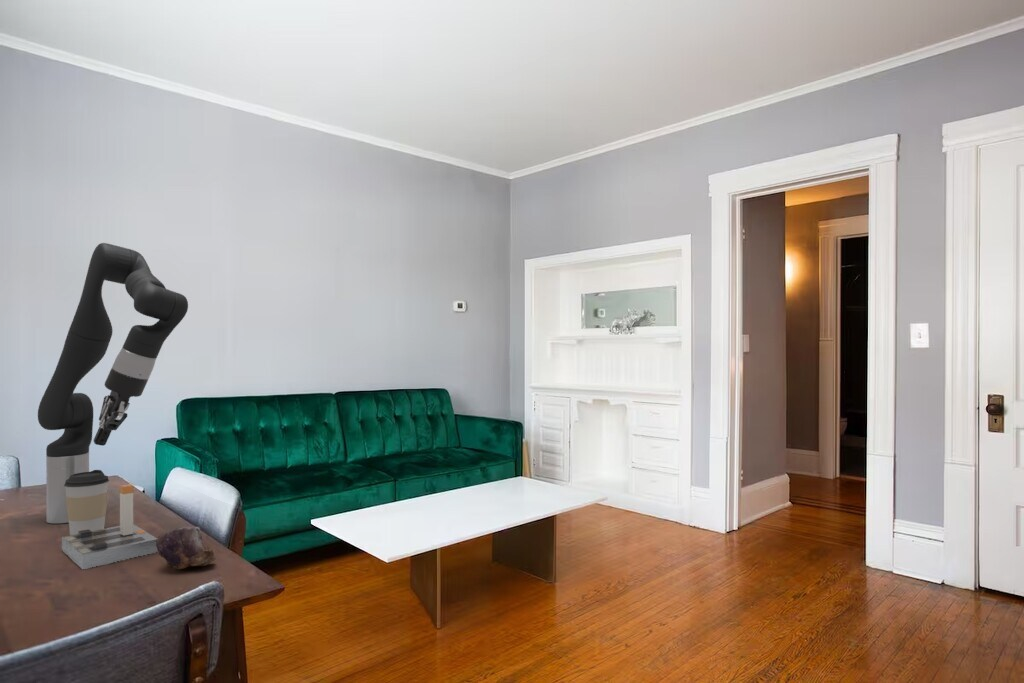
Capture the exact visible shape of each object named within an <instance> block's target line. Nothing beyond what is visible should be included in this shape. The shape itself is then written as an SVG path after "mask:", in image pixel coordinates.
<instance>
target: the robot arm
mask: <svg viewBox="0 0 1024 683" xmlns="http://www.w3.org/2000/svg"><path fill="white" fill-rule="evenodd" d="M105 281H107V282H112V283H116V284H121V285H124V287H125V290H126V292H127V295H129V296H130V298H132V300H133V308H134V310H135V311H136V312H138V313H139V314H141V315H143V316H146V317H149V318H152V319H155V320H158V321H157V322H155V323H154V324H152V325H147V324H146V325H145V324H144V325H143V324H135V325H132V327H130V330H129V332H128V334H127V336H126V339H125V340H124V343H123V345H122V347H121V350H120V351H119V353H118V354H117V355H116V356H115V357H116V358H115V360H114V362H113V364H112V367H111V368H110V371H109V373H108V375H107V377H106V380H105V381H104V387H105V388H106V389H107V390H108V391H111V392H110V393H109V394H108V395H105V396H103V397H104V398H103V401H102V405H101V409H100V414H99V417H98V421H99V422H98V426H99V427H98V429H97V431H96V432H95V433H96V434H95V436H94V438H93V429H94V428H93V426H94V406H93V402H92V399H91V398H90V397H89V396H88V394H86V393H83V392H75V389H77V386H78V384H79V383H80V382H81V380H82V379H83V378H84V377H85V376H86V375H87V374H88V373H89V372H90V371H91V370H93V369H94V367H96V366H97V365H98V364H99V363H100V361H101V360H102V359H103V358H104V357H105V355H106V353H107V352H108V351H107V350H108V348H109V345H110V342H111V339H112V336H113V332H114V331H113V325H112V322H111V319H110V317H109V314H108V312H107V309H106V307H105V304H104V299H103V296H102V294H103V291H102V290H103V285H104V282H105ZM188 301H189V300H188V299H187V297H186V296H185V295H184V294H182V293H179V292H176V291H173V290H170V289H167V288H166V286H165V284H164V283H163V282H162V281H161V280H160V279H159V278H157V277H156V276H155V275H153V273H152V271H151V269H150V266H149V265H148V263H147V261H146V259H145V257H144V256H143V255H142V254H141V253H140V252H139V251H136V250H134V249H131V248H127V247H124V246H118V245H114V244H110V243H108V242H101V243H98V244H97V246H95V249H93V252H92V255H91V258H90V261H89V265H88V269H87V273H86V277H85V280H84V285H83V288H82V293H81V295H80V299H79V302H78V304H77V306H76V311H75V314H74V315H73V318H72V321H71V324H70V326H69V329H68V331H67V335H66V338H65V341H64V345H63V348H62V351H61V354H60V357H59V359H58V362H57V365H56V367H55V370H54V372H53V374H52V376H51V377H50V381H49V383H48V385H47V387H46V389H45V391H44V394H43V395H42V398H41V400H40V401H39V405H38V409H37V421H38V423H39V424H38V425H40V426H41V427H42V428H43V429H44V430H47V431H59V430H63V433H62V434H61V436H60V437H59V438H57V439H56V440H54V441H52V442H51V443H49V444H48V445H46V449H45V450H46V461H45V463H46V465H45V466H46V472H45V473H46V476H45V477H46V478H45V480H46V482H45V483H46V523H47V524H66V523H68V524H69V520H68V517H67V507H66V497H65V495H66V488H65V486H64V484H65V481H66V480H67V479H69V477H70V475H73V474H76V473H82V472H90V446H91V444H92V439H93V443H94V445H97V446H105V445H106V444H107V442H108V440H109V438H110V435H111V433H112V431H117V429H118V428H119V427H120V426H121V424H123V422H124V421H125V420H126V419H127V418H128V413H127V412H126V411H128V409H129V407H130V402H129V401H130V399H131V398H132V397H135V398H137V397H140V396H142V395H143V393H144V390H145V388H146V386H147V383H148V381H149V379H150V376H151V375H152V372H153V370H154V368H155V364H156V360H157V358H158V355H159V354H160V351H161V349H162V347H163V344H164V343H165V341H166V339H168V338H169V336H170V335H171V333H172V332H174V330H175V328H176V327H177V326H179V324H180V323H181V322H182V320H183V319H184V318H185V316H186V314H187V312H188V309H189V302H188Z"/></svg>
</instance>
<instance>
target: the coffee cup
mask: <svg viewBox="0 0 1024 683" xmlns="http://www.w3.org/2000/svg"><path fill="white" fill-rule="evenodd" d="M109 481H110V479H109V476H108V475H105V474H104V472H103V471H102V470H101V469H93V470H91V471H89V472H82V473H76V474H73V475H70V477H69V479H67V480H66V481H65V484H64V486H65V488H66V495H65V497H66V507H67V517H68V520H69V522H68V530H69V535H74V534H78V531H82V530H88V529H89V530H90V531H95V530H100V529H105V522H106V515H107V508H108V507H107V506H108V505H107V504H108V497H109V490H108V484H109Z"/></svg>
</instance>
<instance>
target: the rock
mask: <svg viewBox="0 0 1024 683" xmlns="http://www.w3.org/2000/svg"><path fill="white" fill-rule="evenodd" d="M156 538H157V542H156V546H157V550H158V553H157V554H158V555H159V556H160V557H161V558H163V559H164V560H165V562H166V564H167V566H168V567H169V568H171V569H174V570H175V569H176V570H182V569H187V568H188V567H204V566H207V565H209V564H211V563H213V562H215V561H216V557H215V553H214V549H213V548H211V547H210V546H204V544H203V538H202V533H201V528H200V527H199V526H187V525H186V526H181V527H178V528H176V529H174V530H170V531H168V532H167V531H166V533H164V534H161V535H159V536H157V537H156Z"/></svg>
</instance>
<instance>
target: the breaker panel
mask: <svg viewBox="0 0 1024 683" xmlns="http://www.w3.org/2000/svg"><path fill="white" fill-rule="evenodd" d="M157 538H158V537H156V536H154V535H152V534H151V533H149V532H147V531H145V530H144V529H142V528H140V527H139V526H137V525H136V524H134V523H133V534H129V535H124V536H123V535H121V534H120V525H117V526H111V527H107V528H105V527H104V529H100V530H95V531H90V530H89V529H88V530H82V531H78V534H74V535H70V534H69V535H64V536H61V551H62V552H63V553H64V554H65V555H66V556H67V555H68V556H67V557H69V559H70V560H72V562H74V564H75V565H77V566H78V567H79V568H80V569H81V570H83V569H84V570H89V569H92V567H93V568H96V566H97V567H100V566H106V565H109V564H110V565H111V564H114V563H113V562H115V563H118V562H117V561H119V562H121V561H120V560H123V561H126V560H125V559H128V560H130V559H129V558H132V559H135V558H134V557H137V558H139V557H138V556H141V557H144V556H143V555H145V556H148V555H147V554H150V555H152V554H151V553H154V554H156V553H155V552H158V550H157V546H156V542H157ZM84 570H83V571H84Z"/></svg>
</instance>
